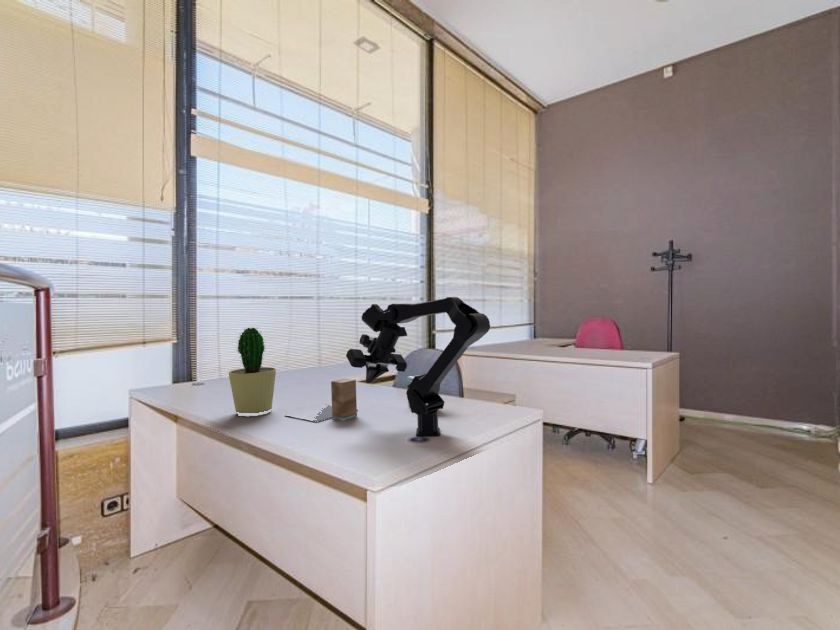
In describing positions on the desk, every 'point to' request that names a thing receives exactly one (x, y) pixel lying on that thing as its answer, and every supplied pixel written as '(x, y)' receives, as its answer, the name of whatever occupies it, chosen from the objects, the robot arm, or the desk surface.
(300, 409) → the desk surface
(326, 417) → the grey thin slab
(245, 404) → the potted cactus
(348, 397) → the walnut block
